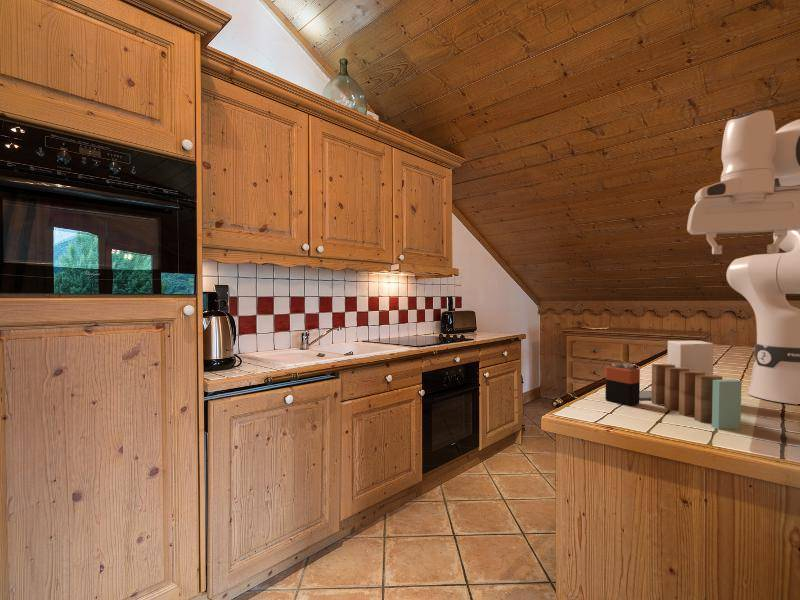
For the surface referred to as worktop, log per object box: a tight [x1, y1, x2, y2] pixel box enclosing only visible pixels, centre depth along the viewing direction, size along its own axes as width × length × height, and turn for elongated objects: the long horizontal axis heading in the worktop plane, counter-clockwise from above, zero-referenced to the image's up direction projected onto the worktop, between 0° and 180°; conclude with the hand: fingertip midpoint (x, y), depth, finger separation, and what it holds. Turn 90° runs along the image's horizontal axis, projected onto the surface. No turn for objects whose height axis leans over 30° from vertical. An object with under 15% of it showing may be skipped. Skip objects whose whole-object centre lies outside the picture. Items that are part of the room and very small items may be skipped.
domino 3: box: [678, 371, 705, 417], centre depth 94 cm, size 5×2×10 cm, turn 95°
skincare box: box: [667, 340, 715, 375], centre depth 105 cm, size 8×7×16 cm
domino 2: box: [664, 367, 689, 411], centre depth 98 cm, size 5×2×10 cm, turn 95°
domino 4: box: [693, 374, 723, 423], centre depth 89 cm, size 5×2×10 cm, turn 95°
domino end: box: [711, 379, 742, 430], centre depth 85 cm, size 5×2×10 cm, turn 95°
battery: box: [604, 362, 641, 407], centre depth 104 cm, size 4×7×10 cm, turn 32°
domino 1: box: [650, 363, 675, 405], centre depth 103 cm, size 5×2×10 cm, turn 95°
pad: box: [639, 390, 652, 401], centre depth 110 cm, size 9×7×1 cm
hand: (744, 253), depth 86 cm, fingers open, 8 cm apart
